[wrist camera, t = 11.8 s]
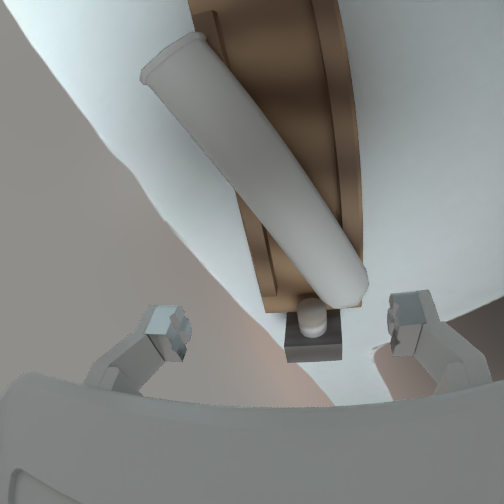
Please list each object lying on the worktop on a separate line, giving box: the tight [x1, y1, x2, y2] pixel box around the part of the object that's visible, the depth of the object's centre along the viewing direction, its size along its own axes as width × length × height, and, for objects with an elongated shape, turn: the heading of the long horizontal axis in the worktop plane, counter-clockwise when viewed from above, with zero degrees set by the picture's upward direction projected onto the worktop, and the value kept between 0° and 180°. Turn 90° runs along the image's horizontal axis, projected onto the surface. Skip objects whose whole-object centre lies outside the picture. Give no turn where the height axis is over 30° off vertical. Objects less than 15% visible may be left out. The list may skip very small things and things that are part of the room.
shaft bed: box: [188, 0, 363, 363], centre depth 24 cm, size 41×11×6 cm, turn 11°
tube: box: [140, 32, 369, 309], centre depth 23 cm, size 5×5×25 cm
